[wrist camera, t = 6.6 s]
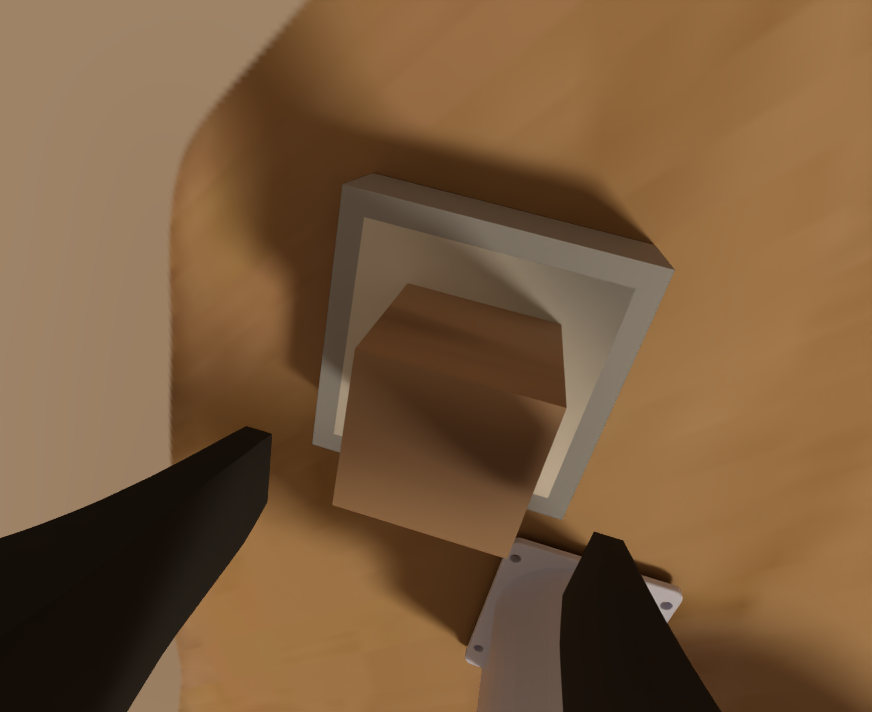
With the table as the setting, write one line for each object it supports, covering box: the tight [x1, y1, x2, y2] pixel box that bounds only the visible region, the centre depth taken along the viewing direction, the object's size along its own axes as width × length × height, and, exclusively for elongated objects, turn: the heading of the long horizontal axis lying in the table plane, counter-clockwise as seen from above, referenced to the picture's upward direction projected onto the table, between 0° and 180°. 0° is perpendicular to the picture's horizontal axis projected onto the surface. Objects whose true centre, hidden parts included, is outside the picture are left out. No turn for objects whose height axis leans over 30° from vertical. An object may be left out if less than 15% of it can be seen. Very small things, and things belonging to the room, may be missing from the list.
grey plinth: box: [312, 173, 675, 520], centre depth 18 cm, size 10×10×3 cm
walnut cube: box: [332, 283, 567, 559], centre depth 15 cm, size 5×5×5 cm
